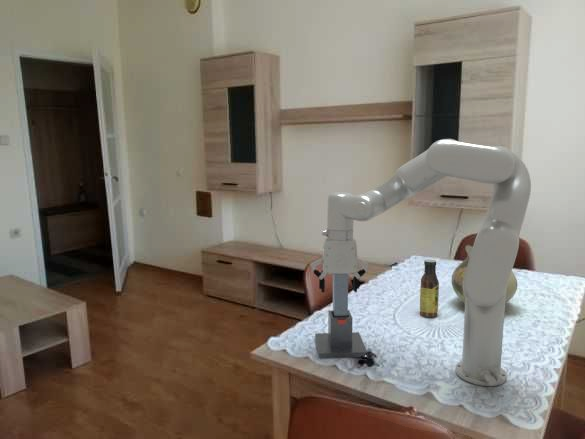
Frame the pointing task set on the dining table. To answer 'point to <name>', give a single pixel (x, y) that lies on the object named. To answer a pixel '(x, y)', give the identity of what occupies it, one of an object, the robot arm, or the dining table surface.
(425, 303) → the sauce bottle
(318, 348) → the jack base
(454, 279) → the pitcher
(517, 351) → the dining table surface
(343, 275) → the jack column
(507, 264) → the robot arm
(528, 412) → the dining table surface
